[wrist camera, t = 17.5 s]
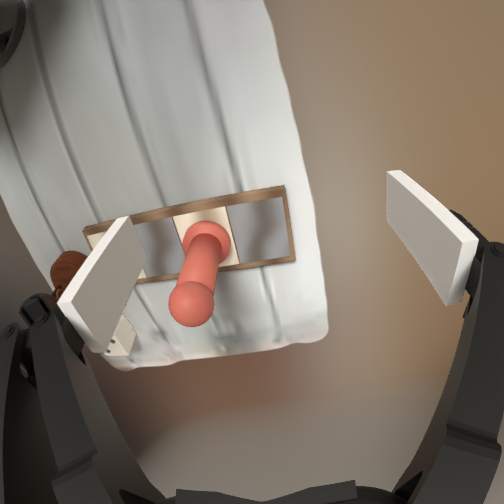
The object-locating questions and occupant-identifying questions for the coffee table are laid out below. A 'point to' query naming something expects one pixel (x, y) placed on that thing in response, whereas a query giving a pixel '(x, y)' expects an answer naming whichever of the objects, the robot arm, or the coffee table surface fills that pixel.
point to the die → (121, 338)
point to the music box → (64, 273)
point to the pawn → (199, 273)
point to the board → (219, 211)
